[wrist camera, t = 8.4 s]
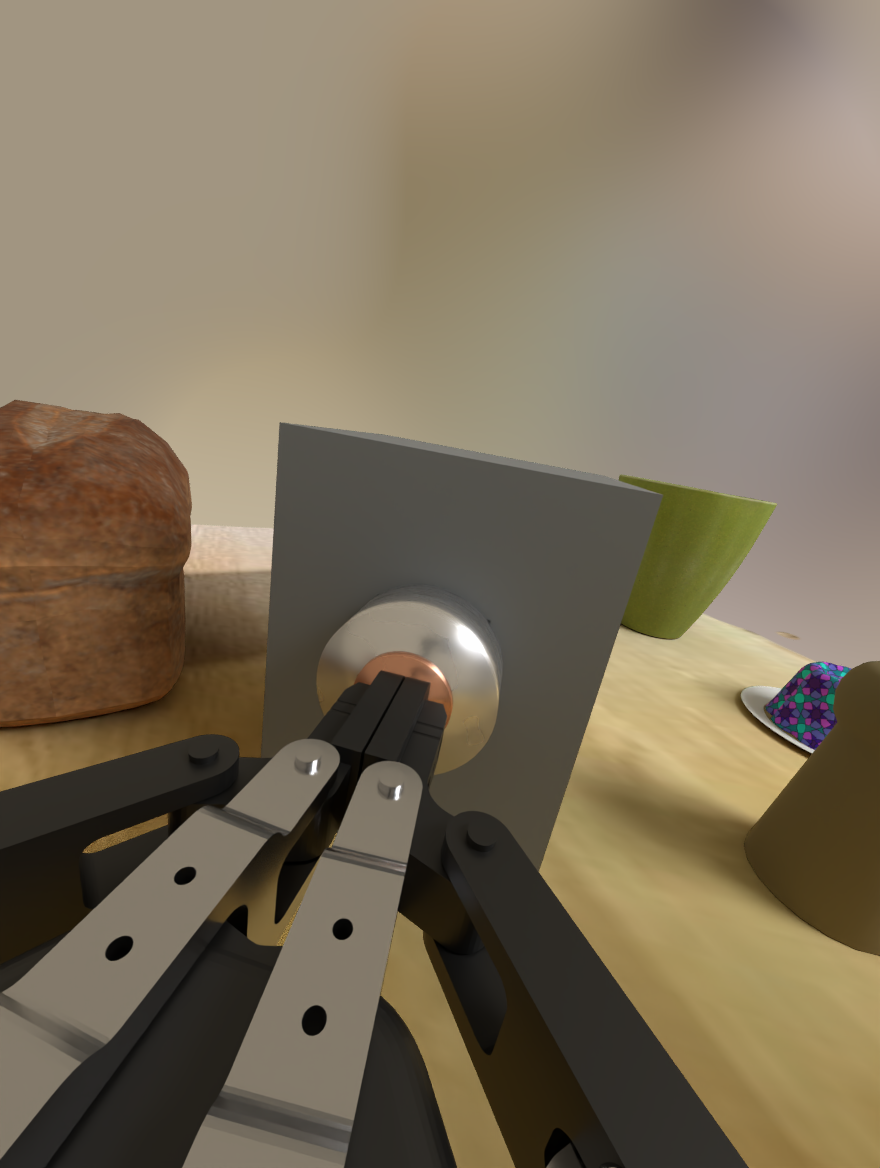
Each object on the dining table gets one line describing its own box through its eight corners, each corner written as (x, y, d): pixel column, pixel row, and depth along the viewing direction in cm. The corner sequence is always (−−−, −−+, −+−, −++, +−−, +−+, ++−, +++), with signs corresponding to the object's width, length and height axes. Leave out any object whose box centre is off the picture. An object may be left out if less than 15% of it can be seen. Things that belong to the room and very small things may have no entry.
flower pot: (563, 593, 58) (597, 469, 53) (667, 608, 60) (710, 489, 55) (615, 646, 44) (669, 484, 39) (749, 663, 46) (817, 510, 41)
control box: (530, 730, 28) (603, 475, 23) (531, 893, 18) (663, 494, 13) (352, 683, 30) (384, 434, 25) (258, 807, 19) (279, 422, 14)
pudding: (712, 710, 36) (737, 652, 34) (766, 682, 43) (789, 633, 41) (918, 823, 27) (965, 752, 25) (942, 764, 34) (980, 705, 32)
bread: (-148, 785, 17) (-269, 390, 13) (30, 559, 40) (9, 387, 35) (201, 728, 23) (203, 449, 19) (185, 561, 46) (184, 414, 41)
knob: (497, 664, 22) (522, 559, 21) (475, 804, 13) (517, 639, 12) (391, 638, 23) (407, 534, 21) (304, 754, 14) (320, 592, 12)
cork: (936, 936, 19) (1098, 722, 16) (854, 973, 17) (1021, 736, 14) (793, 820, 24) (890, 643, 21) (716, 838, 22) (811, 643, 19)
